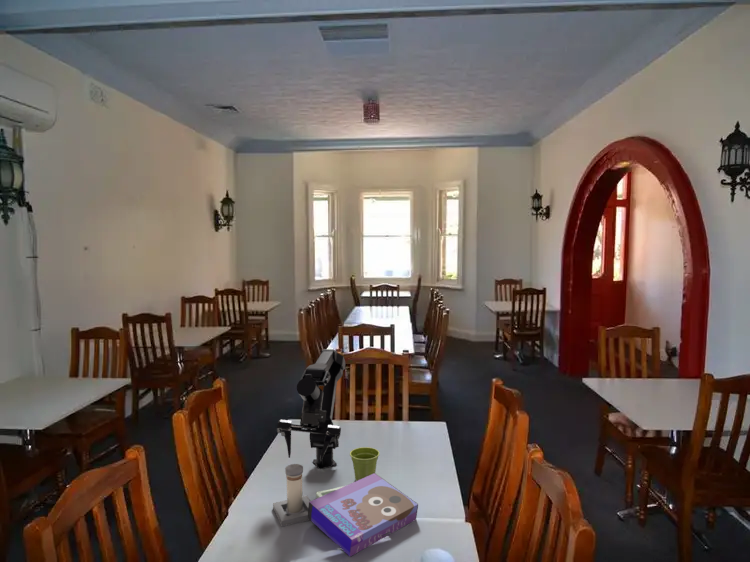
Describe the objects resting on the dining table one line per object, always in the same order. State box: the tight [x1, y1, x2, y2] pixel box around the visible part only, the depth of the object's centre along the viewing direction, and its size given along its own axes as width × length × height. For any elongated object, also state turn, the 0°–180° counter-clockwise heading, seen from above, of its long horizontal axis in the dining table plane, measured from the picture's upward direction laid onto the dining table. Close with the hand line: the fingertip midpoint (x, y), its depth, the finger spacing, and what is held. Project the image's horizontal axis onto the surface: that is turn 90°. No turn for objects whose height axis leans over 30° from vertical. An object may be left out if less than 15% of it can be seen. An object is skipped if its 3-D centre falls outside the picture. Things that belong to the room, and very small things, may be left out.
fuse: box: [284, 463, 304, 516], centre depth 145 cm, size 5×5×13 cm
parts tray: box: [315, 485, 345, 499], centre depth 152 cm, size 10×10×2 cm
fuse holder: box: [272, 495, 311, 527], centre depth 146 cm, size 10×10×2 cm
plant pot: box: [349, 446, 380, 482], centre depth 167 cm, size 9×9×9 cm
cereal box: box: [308, 472, 419, 557], centre depth 141 cm, size 17×5×24 cm
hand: (305, 459), depth 153 cm, fingers open, 9 cm apart
